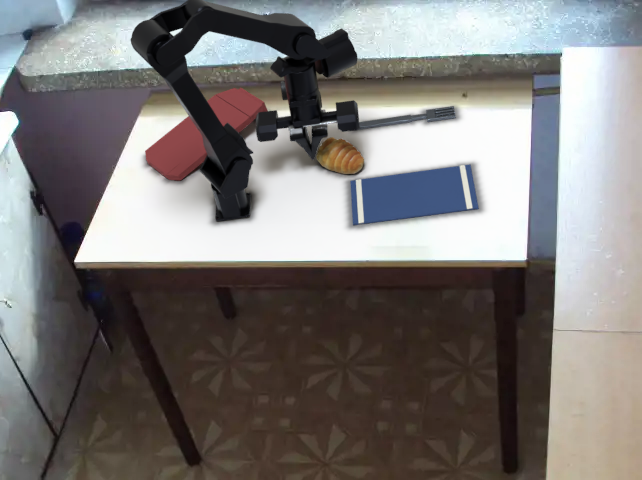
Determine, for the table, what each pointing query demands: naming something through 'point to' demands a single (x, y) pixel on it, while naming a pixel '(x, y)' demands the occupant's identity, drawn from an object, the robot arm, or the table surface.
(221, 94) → the red angular block
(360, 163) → the pastry
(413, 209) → the napkin
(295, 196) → the table surface
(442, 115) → the fork
